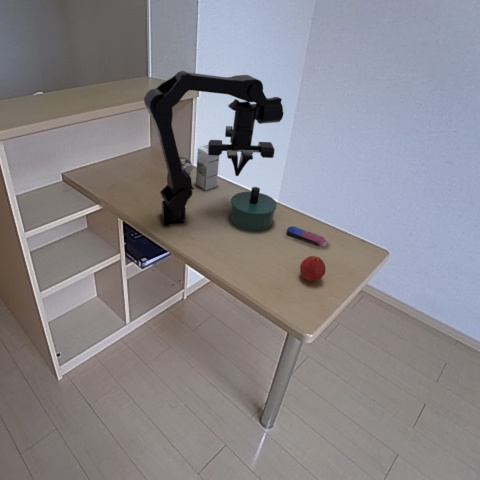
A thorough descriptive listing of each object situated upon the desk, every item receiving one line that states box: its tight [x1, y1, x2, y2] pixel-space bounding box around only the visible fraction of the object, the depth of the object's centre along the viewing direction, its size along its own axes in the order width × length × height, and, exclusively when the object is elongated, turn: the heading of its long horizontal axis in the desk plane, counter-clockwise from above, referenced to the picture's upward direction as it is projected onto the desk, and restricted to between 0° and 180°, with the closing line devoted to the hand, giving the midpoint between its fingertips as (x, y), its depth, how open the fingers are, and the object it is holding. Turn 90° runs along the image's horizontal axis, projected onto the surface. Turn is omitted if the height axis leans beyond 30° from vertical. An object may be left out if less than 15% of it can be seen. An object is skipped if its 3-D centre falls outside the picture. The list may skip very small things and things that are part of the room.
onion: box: [299, 255, 326, 282], centre depth 91 cm, size 6×6×8 cm
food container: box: [179, 155, 194, 176], centre depth 130 cm, size 12×6×10 cm, turn 168°
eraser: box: [286, 225, 327, 248], centre depth 107 cm, size 11×4×2 cm, turn 53°
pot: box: [229, 205, 276, 232], centre depth 114 cm, size 13×13×6 cm
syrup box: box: [195, 144, 220, 191], centre depth 131 cm, size 6×6×14 cm
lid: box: [230, 186, 278, 215], centre depth 111 cm, size 14×14×6 cm
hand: (236, 175), depth 113 cm, fingers closed
